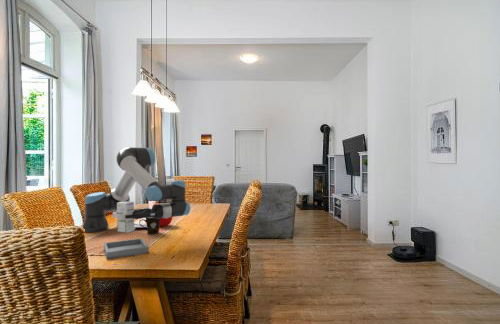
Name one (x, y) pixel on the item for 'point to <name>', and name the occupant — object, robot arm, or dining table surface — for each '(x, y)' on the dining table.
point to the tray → (125, 248)
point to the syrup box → (126, 224)
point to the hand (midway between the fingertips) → (115, 216)
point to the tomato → (165, 221)
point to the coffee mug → (152, 225)
